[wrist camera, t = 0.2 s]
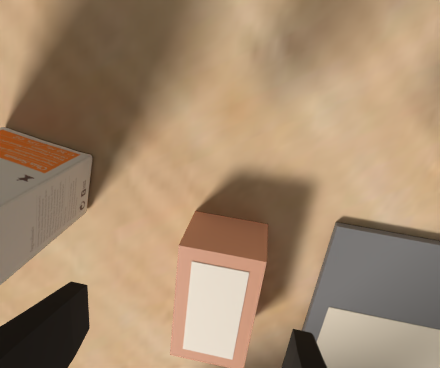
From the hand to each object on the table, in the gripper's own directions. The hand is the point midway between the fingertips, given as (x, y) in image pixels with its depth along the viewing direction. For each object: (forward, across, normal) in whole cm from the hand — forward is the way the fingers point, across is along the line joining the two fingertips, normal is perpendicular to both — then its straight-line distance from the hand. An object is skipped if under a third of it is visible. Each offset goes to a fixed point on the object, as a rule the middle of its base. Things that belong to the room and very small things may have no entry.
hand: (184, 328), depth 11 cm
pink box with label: (+10, -1, +4) cm, 11 cm away
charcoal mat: (+9, -13, +9) cm, 18 cm away
